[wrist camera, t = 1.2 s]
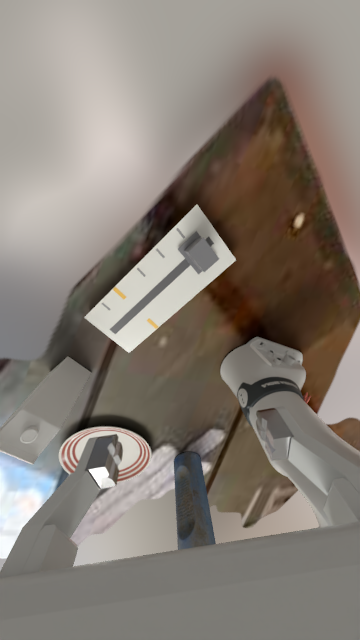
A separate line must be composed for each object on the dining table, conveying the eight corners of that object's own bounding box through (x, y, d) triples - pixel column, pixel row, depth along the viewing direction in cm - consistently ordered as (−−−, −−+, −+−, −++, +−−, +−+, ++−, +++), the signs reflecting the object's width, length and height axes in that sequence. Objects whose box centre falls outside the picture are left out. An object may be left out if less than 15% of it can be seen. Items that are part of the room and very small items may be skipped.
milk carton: (74, 387, 46) (20, 474, 29) (49, 372, 44) (-26, 456, 26) (92, 372, 45) (46, 454, 27) (68, 355, 42) (1, 433, 25)
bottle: (189, 447, 60) (211, 618, 33) (205, 459, 64) (237, 622, 36) (168, 459, 62) (171, 631, 34) (184, 470, 65) (200, 634, 38)
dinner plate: (71, 410, 49) (65, 421, 46) (163, 427, 55) (163, 438, 52) (58, 467, 59) (52, 479, 56) (138, 476, 65) (136, 488, 62)
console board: (194, 207, 32) (197, 204, 30) (230, 258, 36) (236, 259, 34) (89, 312, 38) (84, 317, 36) (131, 345, 43) (129, 353, 40)
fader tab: (195, 231, 31) (203, 228, 25) (216, 258, 33) (226, 260, 27) (177, 249, 32) (180, 250, 26) (198, 274, 34) (204, 280, 28)
